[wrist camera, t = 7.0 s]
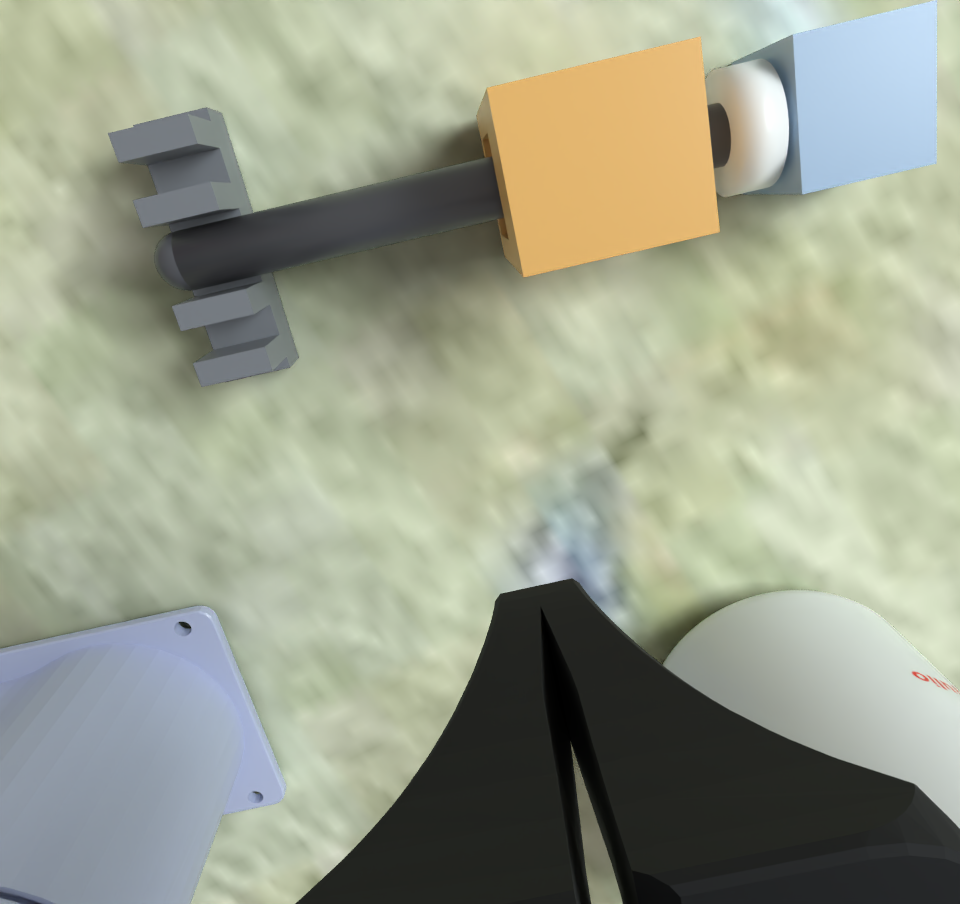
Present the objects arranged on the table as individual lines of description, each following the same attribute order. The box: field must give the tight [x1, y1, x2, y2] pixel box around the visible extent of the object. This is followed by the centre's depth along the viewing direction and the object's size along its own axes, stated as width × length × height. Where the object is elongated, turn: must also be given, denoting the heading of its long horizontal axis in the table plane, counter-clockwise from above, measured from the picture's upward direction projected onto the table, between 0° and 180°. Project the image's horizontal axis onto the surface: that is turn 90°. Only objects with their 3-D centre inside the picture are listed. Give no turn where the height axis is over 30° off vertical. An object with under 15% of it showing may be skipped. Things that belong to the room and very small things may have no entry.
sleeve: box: [476, 37, 720, 277], centre depth 16 cm, size 4×4×5 cm
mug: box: [663, 590, 960, 828], centre depth 20 cm, size 12×9×11 cm
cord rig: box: [108, 0, 937, 387], centre depth 17 cm, size 18×6×3 cm, turn 102°
